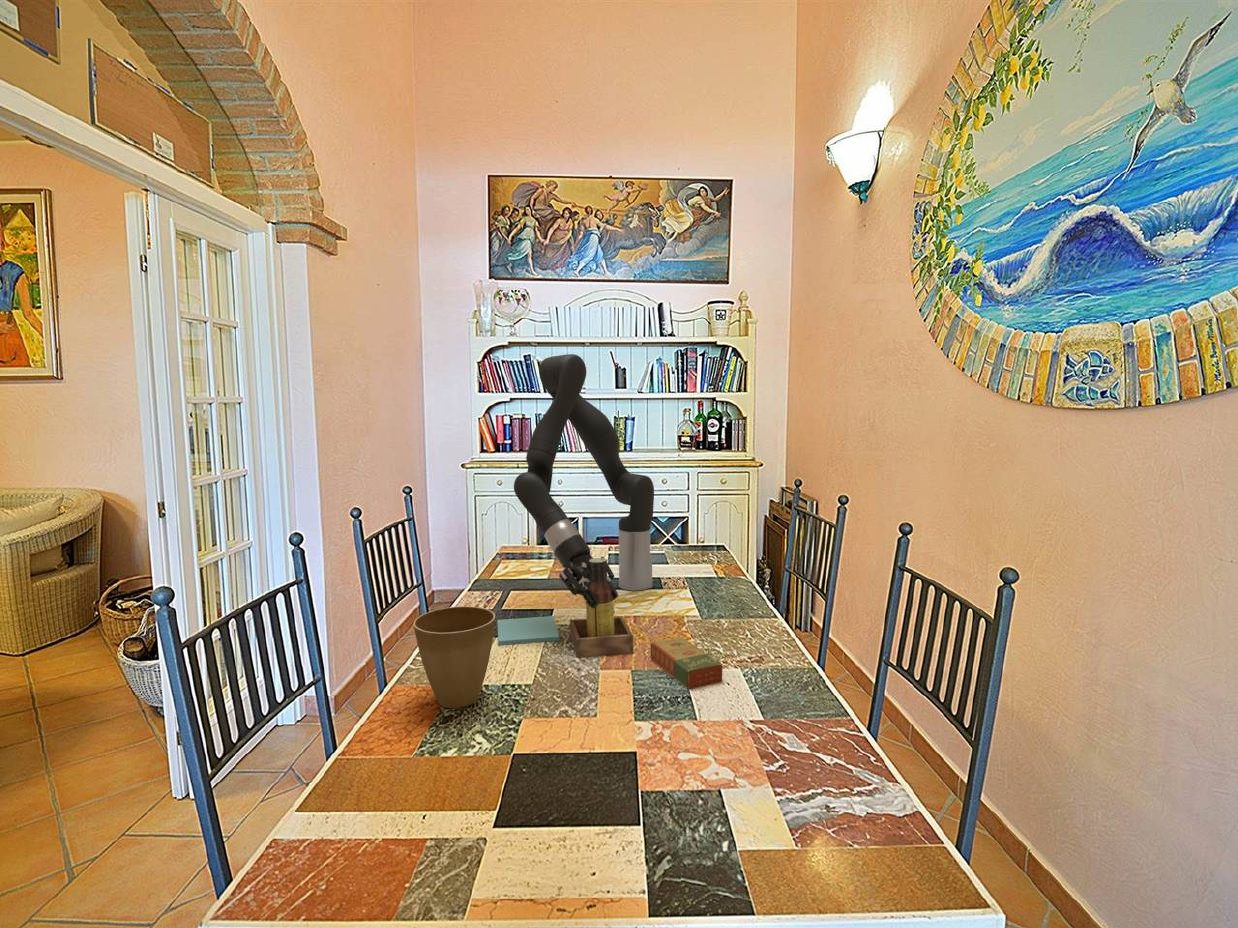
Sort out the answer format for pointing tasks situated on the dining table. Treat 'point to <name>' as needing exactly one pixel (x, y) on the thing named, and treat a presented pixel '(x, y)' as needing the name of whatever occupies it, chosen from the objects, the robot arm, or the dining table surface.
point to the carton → (686, 662)
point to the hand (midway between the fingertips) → (605, 601)
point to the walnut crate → (601, 639)
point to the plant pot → (455, 651)
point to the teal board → (527, 630)
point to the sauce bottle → (600, 601)
